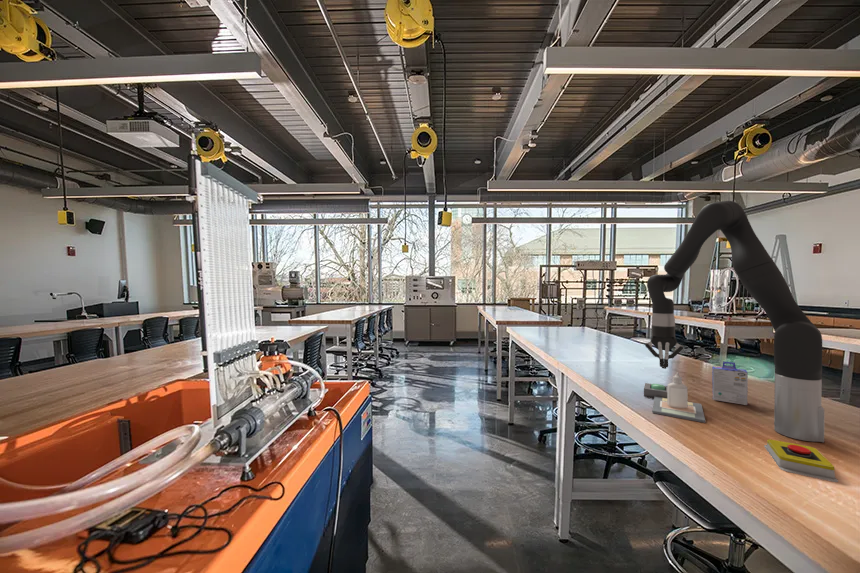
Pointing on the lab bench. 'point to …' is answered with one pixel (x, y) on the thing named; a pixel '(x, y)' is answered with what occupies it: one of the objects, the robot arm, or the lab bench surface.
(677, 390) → the eye dropper bottle
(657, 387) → the button
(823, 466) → the emergency button
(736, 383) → the ink cartridge box
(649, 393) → the button housing
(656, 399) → the colouring board
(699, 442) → the lab bench surface
